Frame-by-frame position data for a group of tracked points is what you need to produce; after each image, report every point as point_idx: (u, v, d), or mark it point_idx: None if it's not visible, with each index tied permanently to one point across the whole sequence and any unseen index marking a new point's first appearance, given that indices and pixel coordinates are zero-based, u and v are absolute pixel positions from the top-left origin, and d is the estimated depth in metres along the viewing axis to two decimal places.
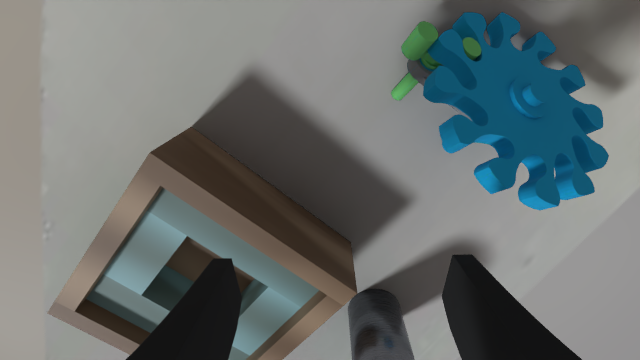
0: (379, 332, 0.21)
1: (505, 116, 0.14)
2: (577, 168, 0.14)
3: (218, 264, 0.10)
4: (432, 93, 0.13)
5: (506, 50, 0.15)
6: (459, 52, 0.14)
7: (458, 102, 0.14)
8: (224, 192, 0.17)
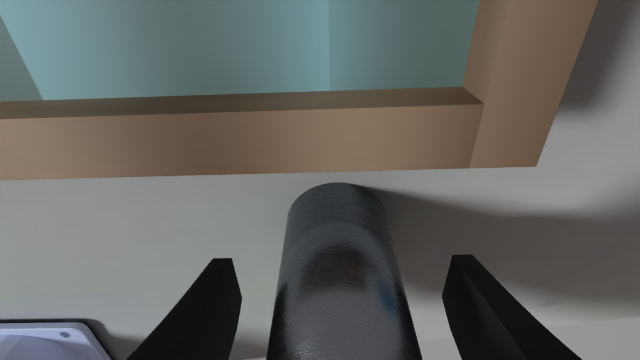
0: (388, 273, 0.09)
1: None
2: None
3: (218, 265, 0.10)
4: None
5: None
6: None
7: None
8: None
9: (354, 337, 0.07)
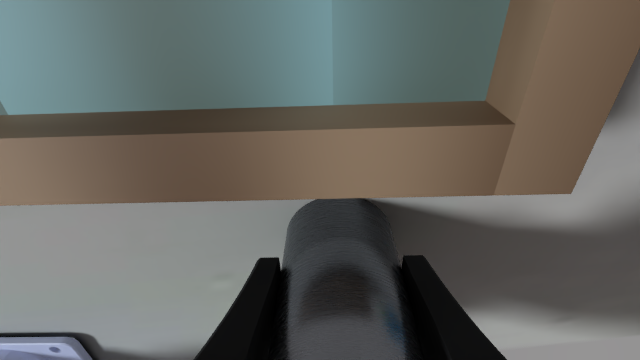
0: (396, 300, 0.08)
1: None
2: None
3: (267, 264, 0.10)
4: None
5: None
6: None
7: None
8: None
9: None
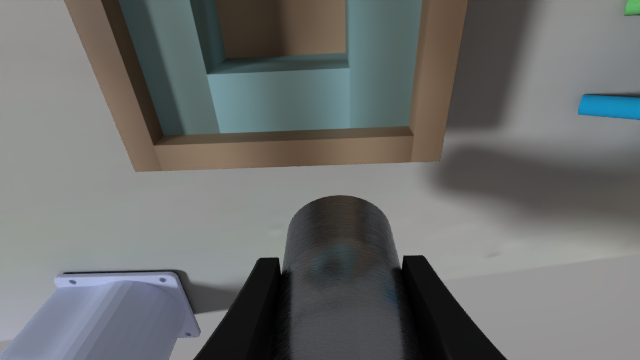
0: (395, 299, 0.08)
1: None
2: None
3: (267, 264, 0.10)
4: None
5: None
6: None
7: None
8: None
9: None
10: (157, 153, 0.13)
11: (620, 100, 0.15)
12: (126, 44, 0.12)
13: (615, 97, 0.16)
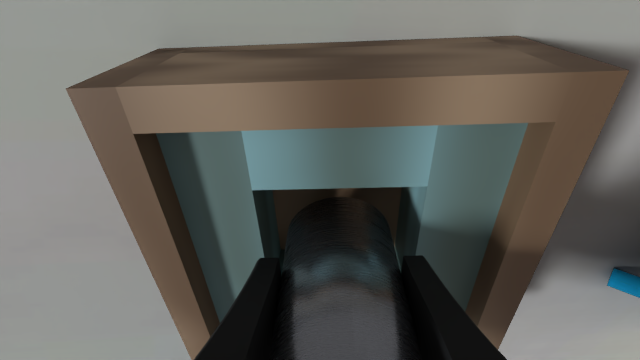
0: (392, 301, 0.08)
1: None
2: None
3: (267, 263, 0.10)
4: None
5: None
6: None
7: None
8: None
9: None
10: None
11: None
12: (202, 289, 0.12)
13: None
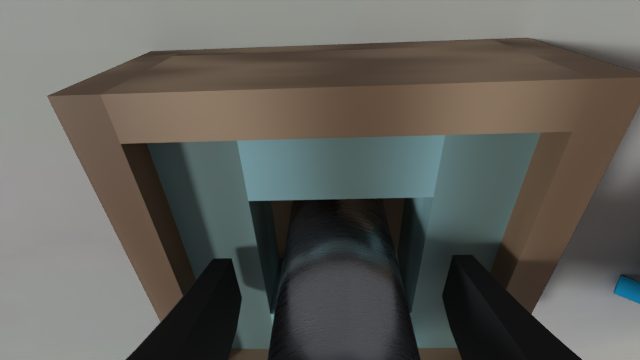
0: (382, 255, 0.10)
1: None
2: None
3: (218, 264, 0.10)
4: None
5: None
6: None
7: None
8: None
9: (347, 310, 0.08)
10: None
11: None
12: None
13: None
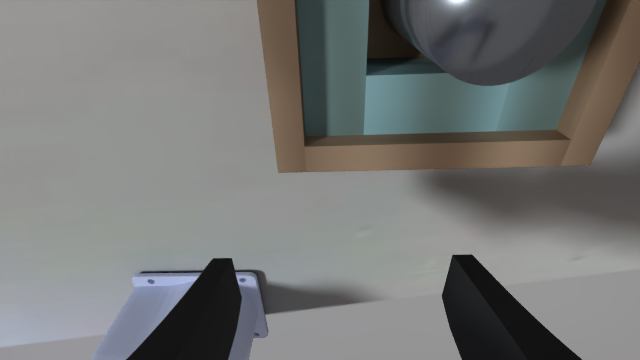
0: None
1: None
2: None
3: (218, 265, 0.10)
4: None
5: None
6: None
7: None
8: None
9: None
10: (305, 154, 0.13)
11: None
12: (298, 44, 0.11)
13: None
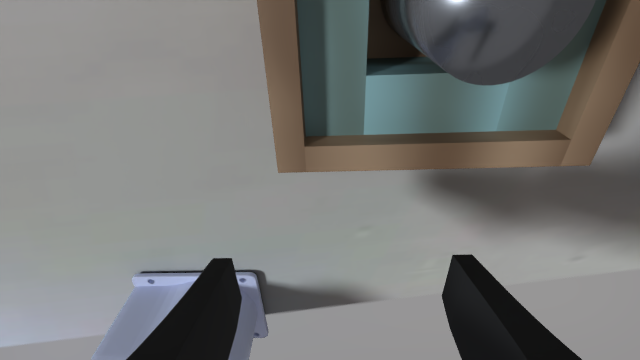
0: None
1: None
2: None
3: (218, 265, 0.10)
4: None
5: None
6: None
7: None
8: None
9: None
10: (305, 154, 0.13)
11: None
12: (298, 44, 0.11)
13: None
